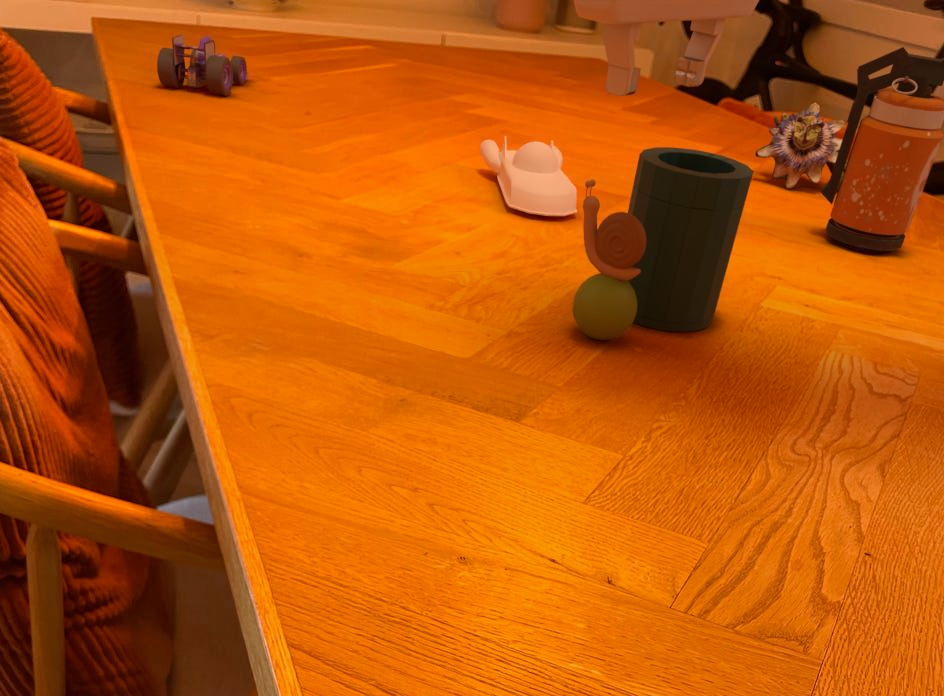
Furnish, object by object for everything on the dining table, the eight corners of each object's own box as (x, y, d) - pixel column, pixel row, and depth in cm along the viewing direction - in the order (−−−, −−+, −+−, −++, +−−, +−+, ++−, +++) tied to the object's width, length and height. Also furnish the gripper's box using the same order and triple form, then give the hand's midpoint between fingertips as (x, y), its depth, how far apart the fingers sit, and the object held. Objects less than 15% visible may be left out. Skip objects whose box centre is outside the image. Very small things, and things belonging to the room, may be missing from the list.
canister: (898, 261, 114) (973, 64, 101) (802, 241, 116) (863, 45, 104) (900, 242, 121) (970, 55, 108) (809, 223, 123) (868, 37, 110)
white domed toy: (499, 217, 110) (506, 161, 106) (477, 169, 125) (482, 118, 122) (589, 224, 112) (599, 169, 108) (556, 176, 127) (564, 126, 123)
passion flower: (777, 228, 140) (749, 149, 133) (777, 194, 147) (751, 117, 140) (861, 194, 134) (836, 109, 127) (856, 160, 141) (833, 78, 134)
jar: (730, 318, 93) (772, 170, 85) (677, 340, 87) (716, 184, 79) (646, 286, 97) (678, 142, 89) (589, 305, 91) (618, 153, 83)
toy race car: (257, 81, 152) (256, 32, 148) (222, 99, 140) (220, 46, 136) (198, 72, 153) (195, 23, 148) (157, 88, 141) (153, 35, 137)
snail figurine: (577, 316, 89) (604, 174, 81) (640, 339, 86) (673, 194, 79) (546, 332, 85) (570, 184, 78) (610, 355, 83) (642, 205, 75)
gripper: (656, -153, 58) (611, 110, 66) (810, -130, 70) (755, 88, 79) (569, -163, 61) (537, 91, 69) (732, -139, 73) (688, 72, 82)
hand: (655, 89), depth 74 cm, fingers open, 8 cm apart
